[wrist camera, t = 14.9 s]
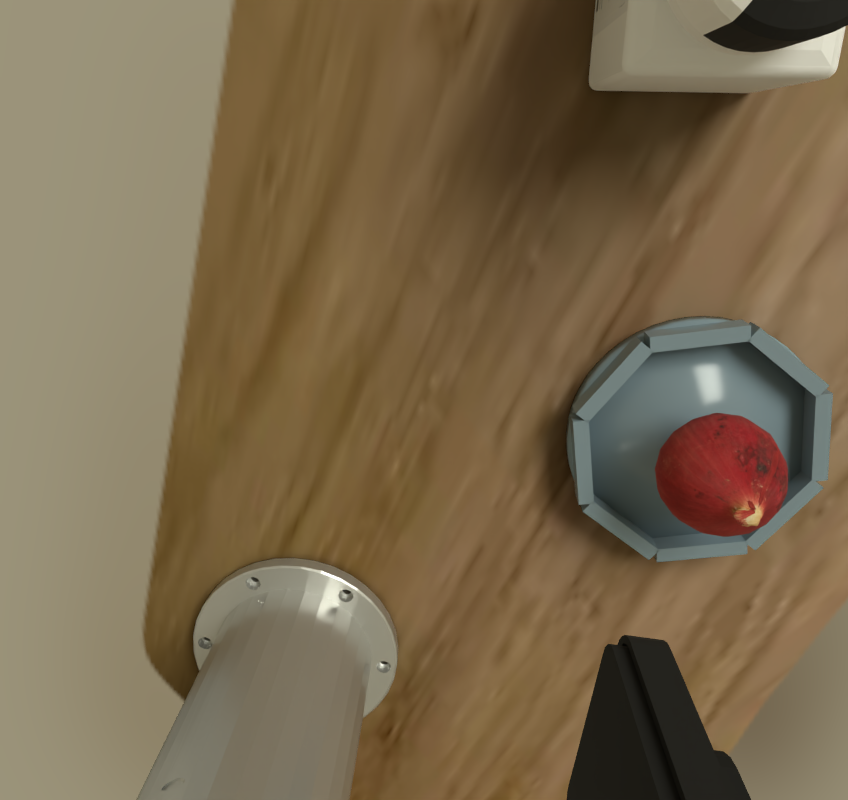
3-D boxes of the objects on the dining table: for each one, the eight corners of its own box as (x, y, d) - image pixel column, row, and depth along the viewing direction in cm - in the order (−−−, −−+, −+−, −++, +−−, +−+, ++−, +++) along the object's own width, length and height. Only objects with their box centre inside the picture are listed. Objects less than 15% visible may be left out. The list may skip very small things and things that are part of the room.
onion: (685, 372, 36) (748, 430, 29) (773, 428, 37) (856, 498, 30) (617, 460, 38) (659, 536, 30) (702, 511, 39) (764, 598, 31)
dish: (690, 580, 41) (702, 603, 39) (516, 453, 39) (519, 470, 37) (866, 415, 38) (890, 431, 36) (685, 264, 35) (699, 271, 33)
